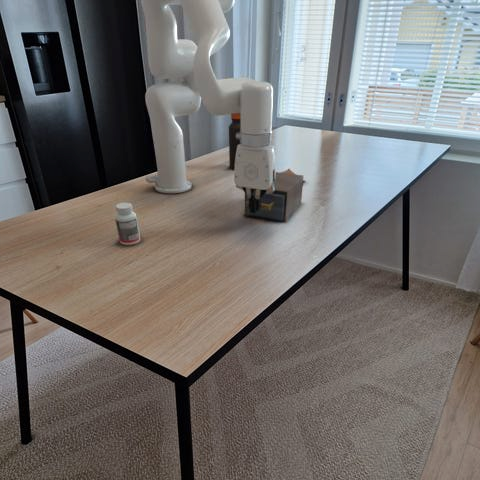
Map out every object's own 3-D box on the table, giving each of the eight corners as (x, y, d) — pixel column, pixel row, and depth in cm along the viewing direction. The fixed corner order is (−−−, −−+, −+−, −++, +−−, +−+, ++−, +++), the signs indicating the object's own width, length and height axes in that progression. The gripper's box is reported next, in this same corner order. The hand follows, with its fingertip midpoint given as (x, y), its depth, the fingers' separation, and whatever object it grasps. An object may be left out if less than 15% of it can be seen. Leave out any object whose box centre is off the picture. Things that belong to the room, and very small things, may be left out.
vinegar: (227, 169, 159) (225, 112, 147) (232, 164, 164) (232, 109, 152) (243, 170, 157) (243, 113, 145) (248, 165, 162) (249, 110, 150)
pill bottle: (121, 237, 110) (114, 201, 104) (141, 236, 110) (135, 201, 104) (118, 246, 105) (111, 209, 100) (139, 245, 106) (133, 208, 100)
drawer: (276, 226, 113) (277, 202, 109) (238, 219, 116) (238, 196, 112) (297, 202, 127) (299, 180, 123) (262, 197, 131) (263, 176, 127)
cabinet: (285, 222, 117) (287, 191, 112) (244, 215, 122) (244, 185, 116) (301, 203, 129) (303, 175, 124) (263, 198, 133) (264, 170, 128)
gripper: (221, 140, 100) (224, 212, 111) (279, 146, 95) (275, 220, 106) (234, 133, 105) (235, 203, 116) (289, 139, 100) (285, 211, 111)
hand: (254, 211), depth 111 cm, fingers closed
